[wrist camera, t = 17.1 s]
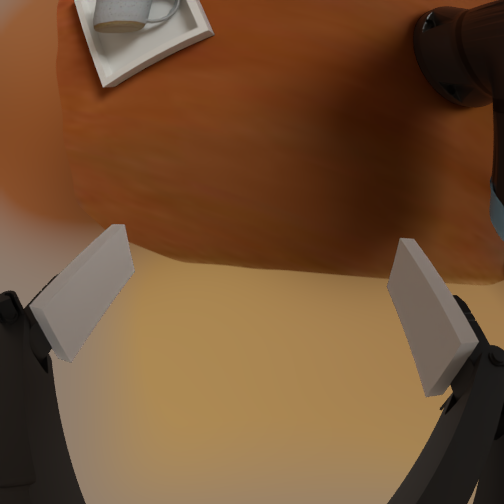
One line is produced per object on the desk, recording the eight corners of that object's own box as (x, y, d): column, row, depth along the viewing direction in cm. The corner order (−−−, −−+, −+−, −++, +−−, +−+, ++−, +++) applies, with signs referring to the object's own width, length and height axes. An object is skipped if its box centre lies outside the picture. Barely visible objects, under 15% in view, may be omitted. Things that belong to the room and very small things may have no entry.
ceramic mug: (109, 37, 28) (77, 31, 22) (119, -10, 24) (90, -23, 18) (177, 31, 28) (154, 19, 22) (187, -19, 24) (168, -39, 17)
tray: (170, -59, 20) (163, -67, 18) (214, 34, 29) (208, 30, 26) (82, -6, 25) (71, -9, 22) (114, 86, 33) (103, 87, 31)
